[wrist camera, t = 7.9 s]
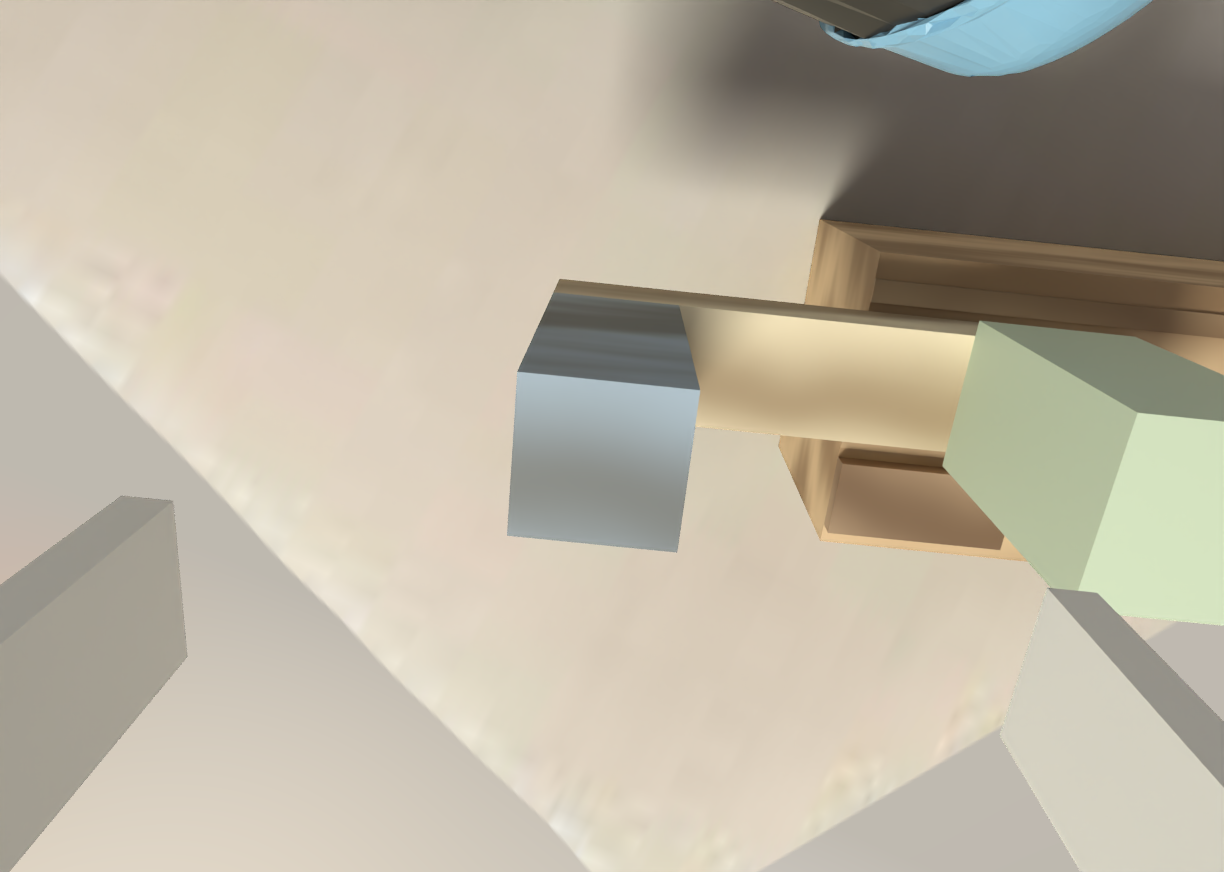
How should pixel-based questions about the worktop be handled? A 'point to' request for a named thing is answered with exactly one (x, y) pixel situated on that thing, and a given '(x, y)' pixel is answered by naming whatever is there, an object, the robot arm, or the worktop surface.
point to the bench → (978, 291)
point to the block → (1098, 465)
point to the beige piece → (705, 397)
